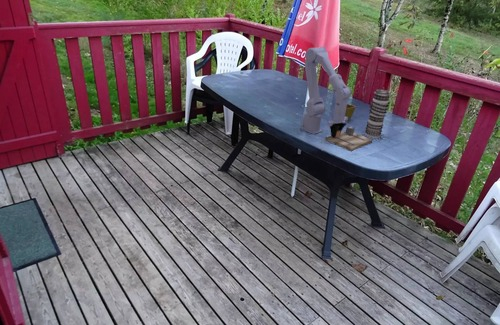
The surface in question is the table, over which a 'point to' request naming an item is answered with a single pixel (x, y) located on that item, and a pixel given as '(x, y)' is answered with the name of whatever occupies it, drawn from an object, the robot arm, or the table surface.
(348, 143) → the console
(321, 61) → the robot arm
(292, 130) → the table surface
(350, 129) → the fader
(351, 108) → the flower pot
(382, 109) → the banded round tower
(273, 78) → the table surface
